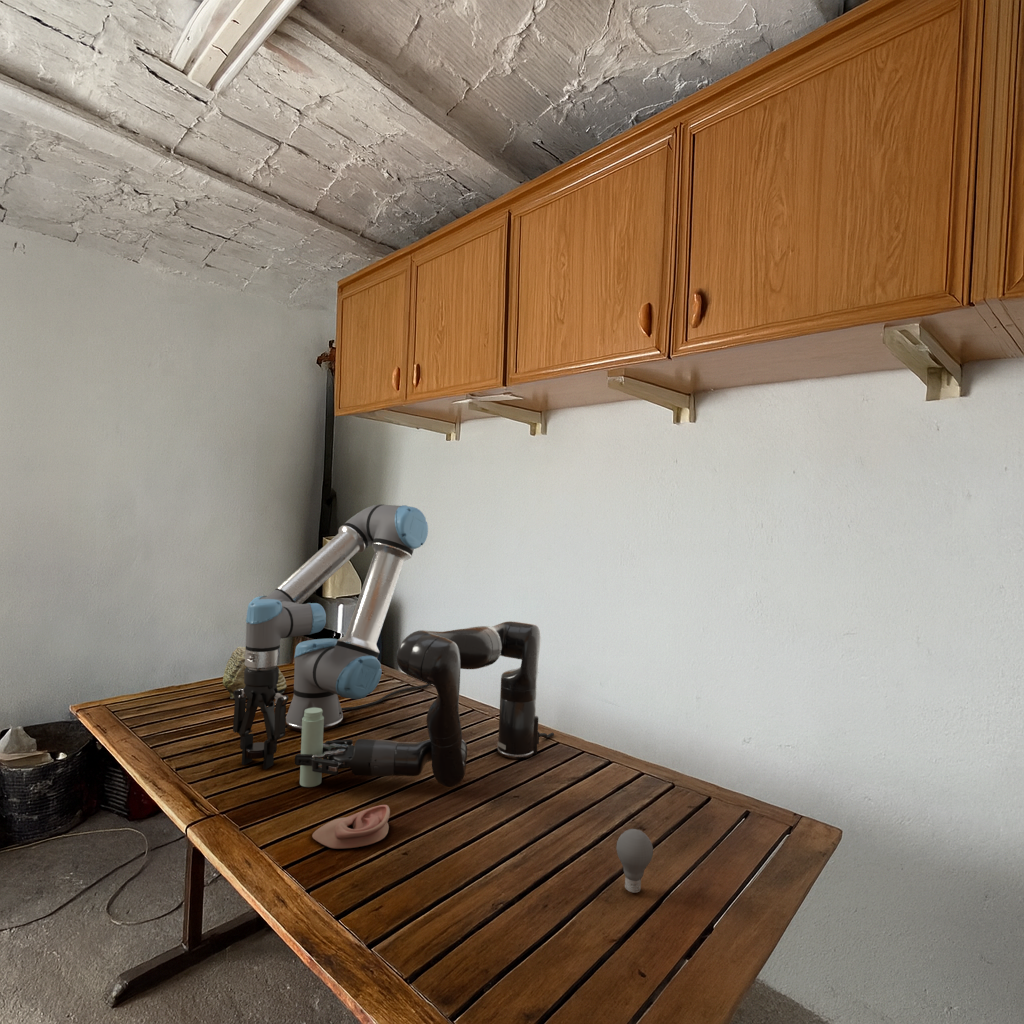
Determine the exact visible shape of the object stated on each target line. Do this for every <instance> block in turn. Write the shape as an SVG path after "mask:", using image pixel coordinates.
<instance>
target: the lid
mask: <svg viewBox="0 0 1024 1024" xmlns="http://www.w3.org/2000/svg"><path fill="white" fill-rule="evenodd" d="M245 755H246V757H247V758H249V759H252V760H260V759H264V741H258V742H257V741H256V742H253V743H252V744H249V745H248V746H247V747H246V753H245Z"/></svg>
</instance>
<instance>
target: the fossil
mask: <svg viewBox="0 0 1024 1024" xmlns="http://www.w3.org/2000/svg"><path fill="white" fill-rule="evenodd" d="M245 650H246V646H238V647H237V648H236V649H235V650H233V651H232V653H231V656H230V657H229V659H228V660H227V663H226V666H225V668H224V671H223V675H222V676H223V677H222V685H223V687H224V688H225V690H226V691H228V693H229V698H230V699H234V695H233V692H234V691H235V690H238V689H241V688H244V687H245V684H244V670H245V668H246V666H245ZM287 687H288V686H287V680H286V678H285V676H284V674H283V673H282V672H281V669H279V679H278V683H277V689H278V693H279V694H284V693H285V691H286V689H287ZM246 699H247V697H246Z"/></svg>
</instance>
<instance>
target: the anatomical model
mask: <svg viewBox="0 0 1024 1024" xmlns="http://www.w3.org/2000/svg"><path fill="white" fill-rule="evenodd" d="M390 816H391V809H390V807H389V805H388V804H380V805H376V806H372V807H368V808H366V809H363V810H361V811H359V812H356V813H353V814H351V815H349V816H346V817H338V818H336V819H333V820H331V821H328V822H326V823H325V824H323V825H322V826H320V827H319V828H317V829H316V830H315V831H314V832H313V833H312V834H311V837H312V839H313V840H315V841H316V842H318V843H319V844H320V845H322V846H325V847H327V848H330V849H334V850H335V849H336V850H341V849H344V850H345V849H353V848H359V847H365V846H369V845H373V844H375V843H378V842H380V841H382V840H384V839H385V838H386V837H387V835H388V833H389V828H390V826H389V825H390V824H389V823H388V821H389V819H390Z"/></svg>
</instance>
